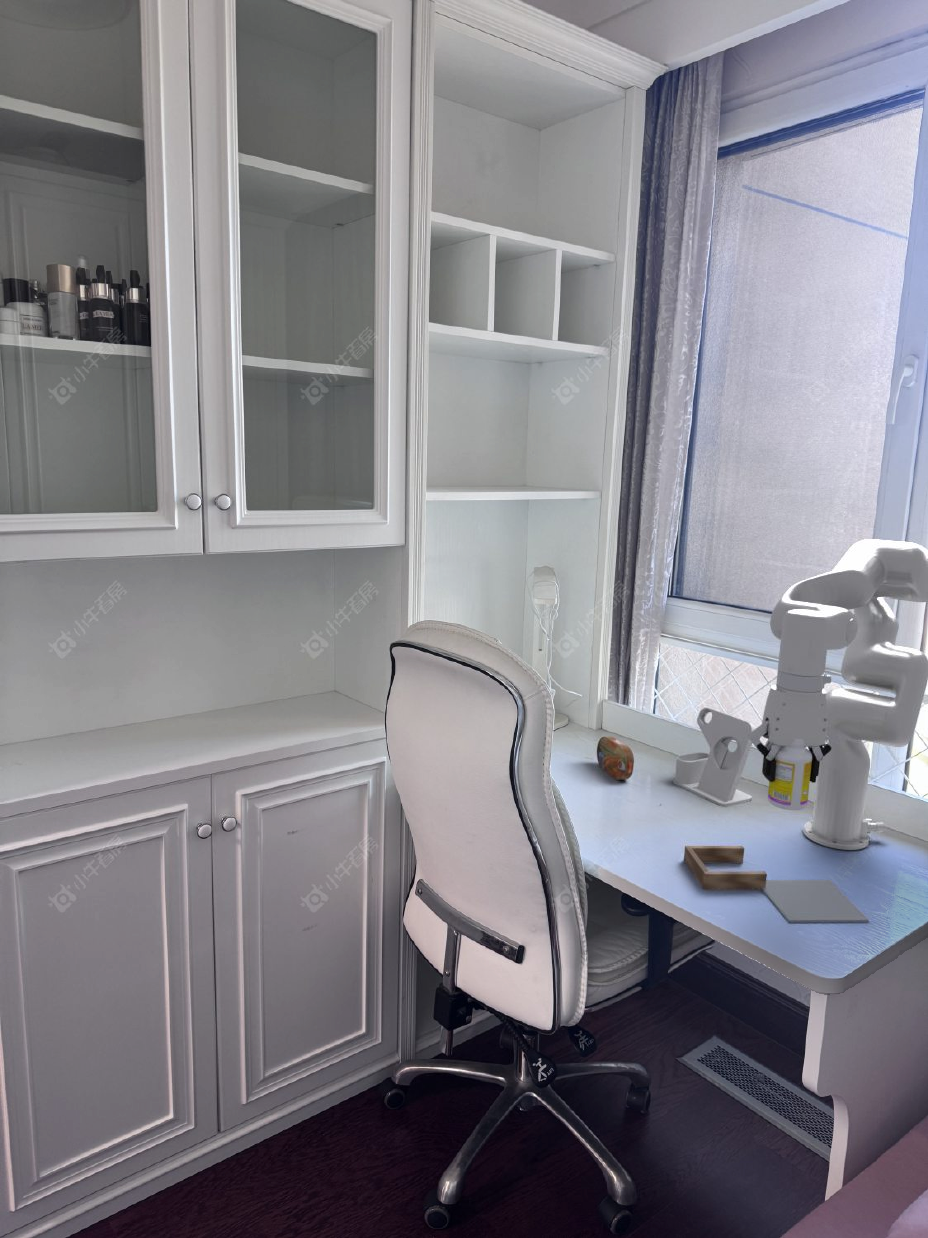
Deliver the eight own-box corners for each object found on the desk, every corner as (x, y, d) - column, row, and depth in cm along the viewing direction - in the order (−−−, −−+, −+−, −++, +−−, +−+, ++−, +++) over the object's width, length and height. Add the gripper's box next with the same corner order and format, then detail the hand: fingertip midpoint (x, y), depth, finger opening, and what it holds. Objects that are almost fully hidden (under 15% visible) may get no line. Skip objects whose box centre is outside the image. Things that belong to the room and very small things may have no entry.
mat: (828, 882, 160) (829, 880, 159) (868, 922, 146) (869, 920, 146) (755, 882, 158) (755, 880, 158) (788, 922, 145) (789, 920, 145)
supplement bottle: (798, 797, 156) (806, 729, 153) (812, 812, 149) (820, 741, 147) (761, 796, 156) (768, 728, 153) (774, 811, 149) (781, 740, 147)
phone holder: (669, 781, 208) (675, 709, 204) (699, 775, 213) (706, 705, 209) (723, 807, 193) (730, 730, 190) (754, 800, 198) (762, 725, 195)
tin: (594, 763, 218) (596, 732, 216) (606, 763, 219) (608, 731, 217) (622, 785, 204) (625, 751, 202) (634, 784, 205) (637, 750, 203)
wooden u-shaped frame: (740, 860, 167) (742, 846, 166) (765, 889, 156) (766, 874, 155) (683, 860, 166) (684, 846, 166) (703, 889, 155) (705, 874, 154)
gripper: (839, 677, 152) (828, 772, 156) (742, 675, 152) (733, 771, 155) (859, 688, 145) (847, 788, 148) (758, 686, 144) (748, 787, 148)
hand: (789, 778), depth 152 cm, fingers closed on supplement bottle, 6 cm apart
